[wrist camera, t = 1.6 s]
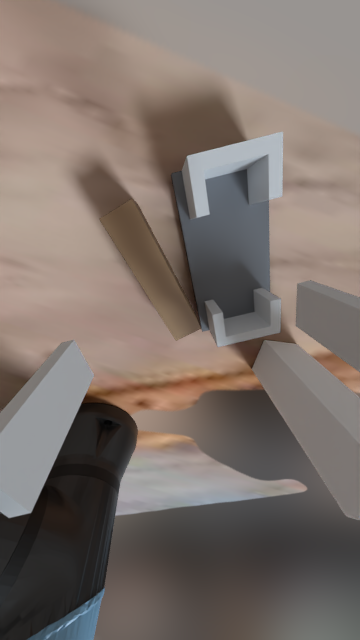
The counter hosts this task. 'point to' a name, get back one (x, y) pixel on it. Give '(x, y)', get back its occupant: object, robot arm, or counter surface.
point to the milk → (316, 416)
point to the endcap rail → (231, 235)
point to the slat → (151, 267)
